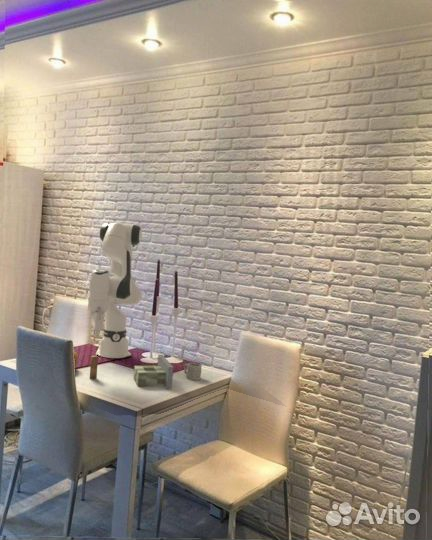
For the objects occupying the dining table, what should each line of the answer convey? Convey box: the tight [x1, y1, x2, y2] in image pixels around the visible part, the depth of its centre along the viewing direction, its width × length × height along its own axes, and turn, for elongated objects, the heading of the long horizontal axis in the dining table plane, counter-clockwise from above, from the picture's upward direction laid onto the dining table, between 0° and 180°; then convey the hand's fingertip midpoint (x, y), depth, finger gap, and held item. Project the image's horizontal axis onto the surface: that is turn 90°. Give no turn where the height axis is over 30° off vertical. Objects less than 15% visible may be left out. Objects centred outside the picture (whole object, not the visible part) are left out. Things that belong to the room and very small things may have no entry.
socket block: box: [133, 365, 166, 388], centre depth 219 cm, size 12×12×6 cm
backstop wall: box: [157, 354, 174, 391], centre depth 221 cm, size 22×2×10 cm, turn 19°
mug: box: [183, 362, 202, 381], centre depth 232 cm, size 10×7×7 cm, turn 46°
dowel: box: [89, 355, 99, 380], centre depth 217 cm, size 3×3×10 cm
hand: (96, 336), depth 217 cm, fingers open, 5 cm apart
